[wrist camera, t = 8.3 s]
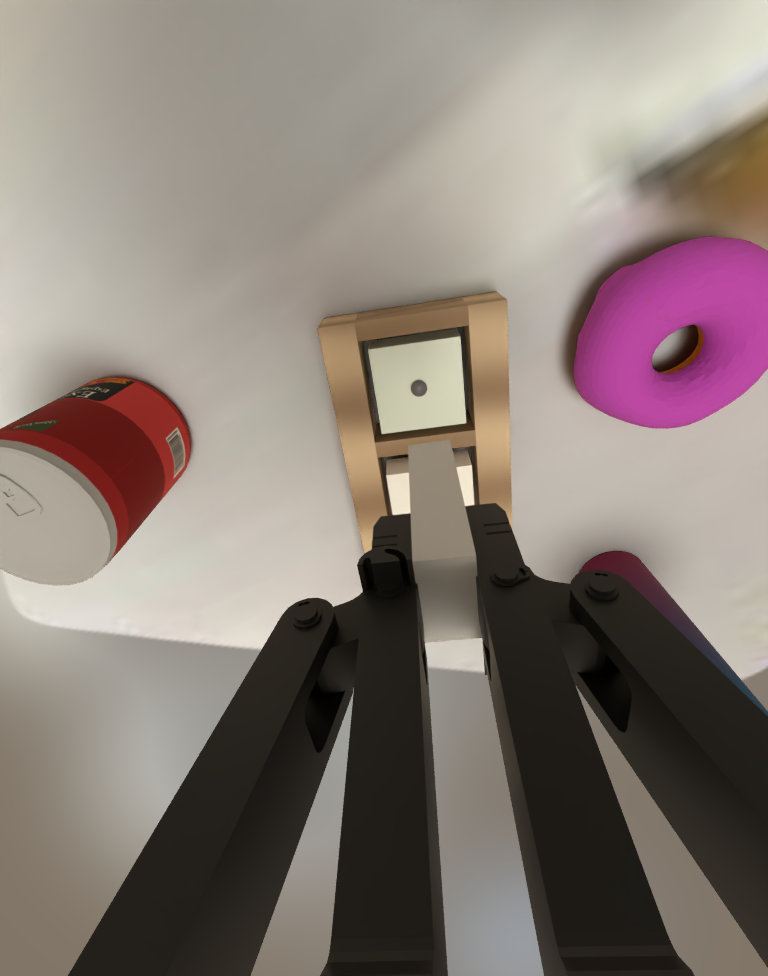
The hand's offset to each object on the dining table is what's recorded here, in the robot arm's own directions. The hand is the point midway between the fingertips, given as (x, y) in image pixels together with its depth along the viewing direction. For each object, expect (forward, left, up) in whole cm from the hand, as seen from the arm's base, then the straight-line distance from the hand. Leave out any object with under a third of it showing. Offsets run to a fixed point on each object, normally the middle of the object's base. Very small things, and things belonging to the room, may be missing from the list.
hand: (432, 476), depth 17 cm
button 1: (0, 0, -13) cm, 13 cm away
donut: (0, +14, -14) cm, 20 cm away
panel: (+7, 0, -14) cm, 16 cm away
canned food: (+2, -19, -14) cm, 24 cm away
